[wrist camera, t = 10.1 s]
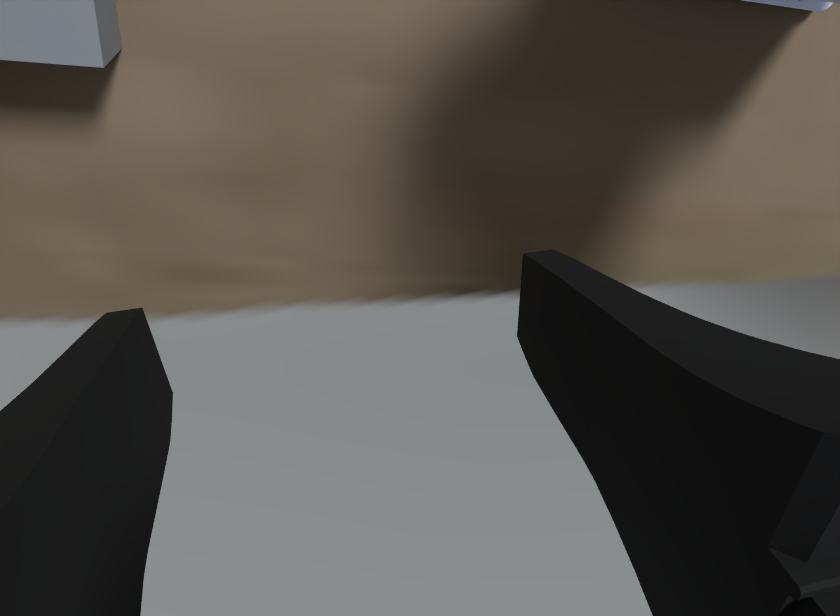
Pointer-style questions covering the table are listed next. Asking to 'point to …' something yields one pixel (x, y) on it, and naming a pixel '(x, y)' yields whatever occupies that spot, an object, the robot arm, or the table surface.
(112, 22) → the slate block
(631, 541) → the robot arm
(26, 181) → the table surface
